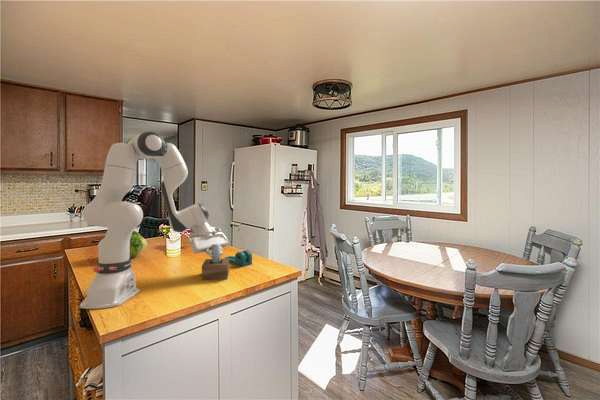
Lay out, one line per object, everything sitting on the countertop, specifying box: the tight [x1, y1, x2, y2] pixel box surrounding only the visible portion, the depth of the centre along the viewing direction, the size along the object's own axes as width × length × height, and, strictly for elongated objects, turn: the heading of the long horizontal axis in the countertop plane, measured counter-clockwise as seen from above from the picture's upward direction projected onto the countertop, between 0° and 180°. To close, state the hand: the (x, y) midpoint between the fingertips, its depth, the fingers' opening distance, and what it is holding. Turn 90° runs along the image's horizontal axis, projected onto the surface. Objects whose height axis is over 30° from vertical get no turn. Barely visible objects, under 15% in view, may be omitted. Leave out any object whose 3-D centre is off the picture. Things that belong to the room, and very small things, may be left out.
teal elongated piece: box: [224, 249, 253, 268], centre depth 174 cm, size 18×7×8 cm, turn 52°
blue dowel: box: [211, 244, 221, 264], centre depth 150 cm, size 4×4×12 cm
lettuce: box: [130, 230, 148, 259], centre depth 181 cm, size 19×23×18 cm
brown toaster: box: [201, 258, 230, 281], centre depth 150 cm, size 12×12×7 cm
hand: (217, 255), depth 149 cm, fingers closed on blue dowel, 4 cm apart
